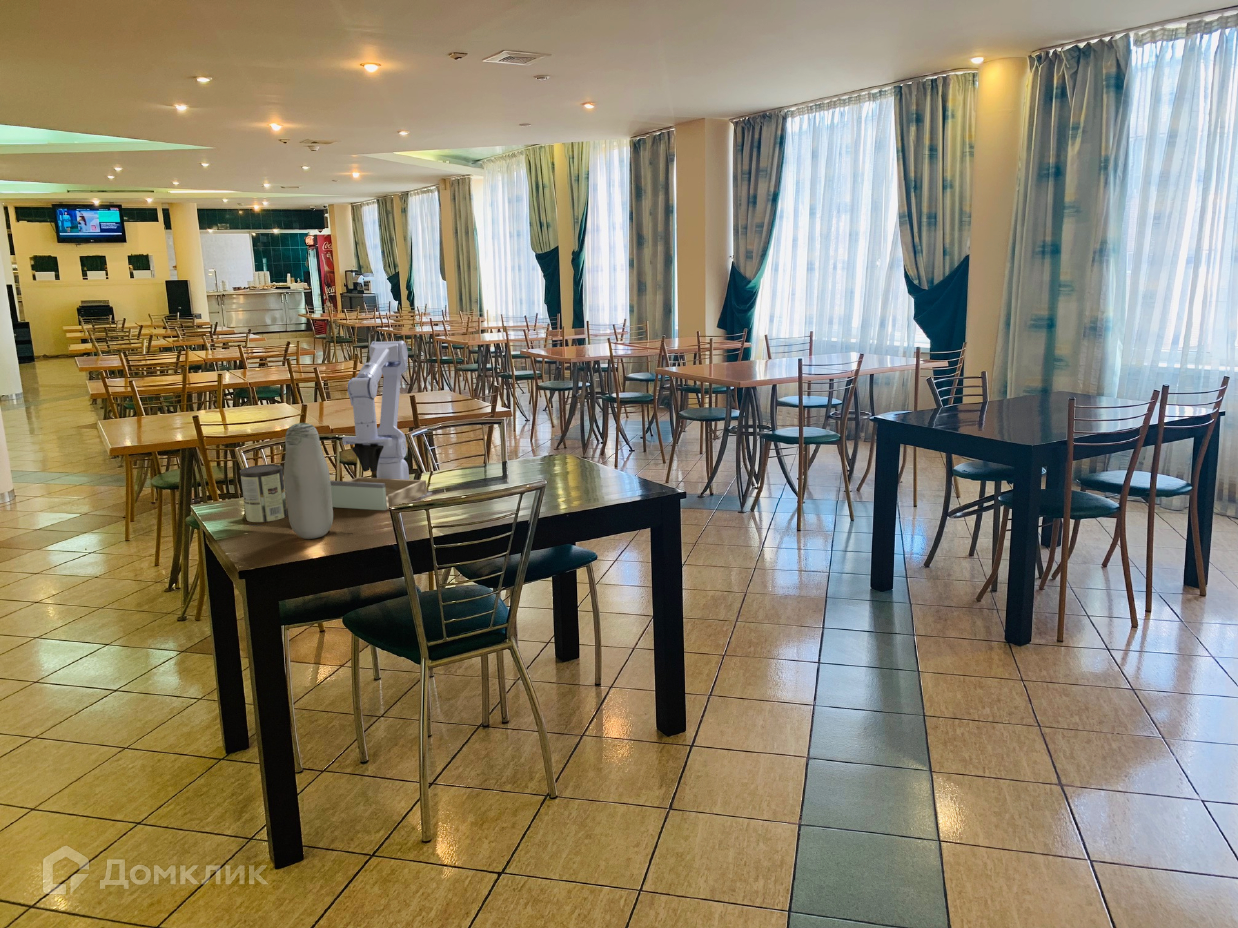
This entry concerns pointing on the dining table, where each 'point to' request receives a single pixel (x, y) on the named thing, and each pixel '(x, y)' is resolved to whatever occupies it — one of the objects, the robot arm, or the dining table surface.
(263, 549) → the dining table surface
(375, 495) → the panel
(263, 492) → the coffee can
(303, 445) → the white bottle
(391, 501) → the cart bed
